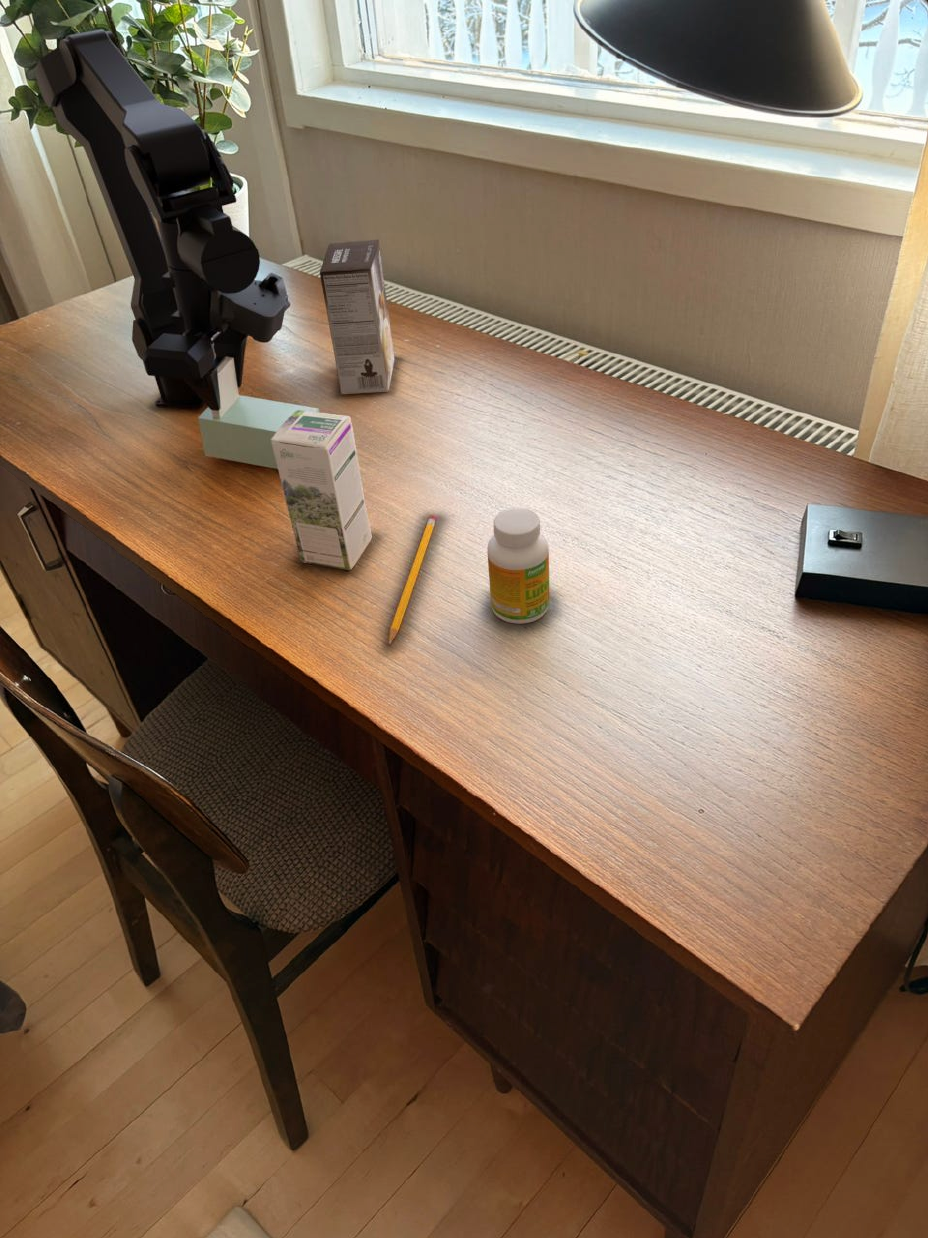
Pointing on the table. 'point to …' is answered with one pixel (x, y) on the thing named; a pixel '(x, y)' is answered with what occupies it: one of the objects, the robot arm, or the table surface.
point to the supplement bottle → (518, 567)
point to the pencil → (411, 579)
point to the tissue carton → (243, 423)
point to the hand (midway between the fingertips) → (226, 398)
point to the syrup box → (323, 488)
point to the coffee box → (358, 316)
